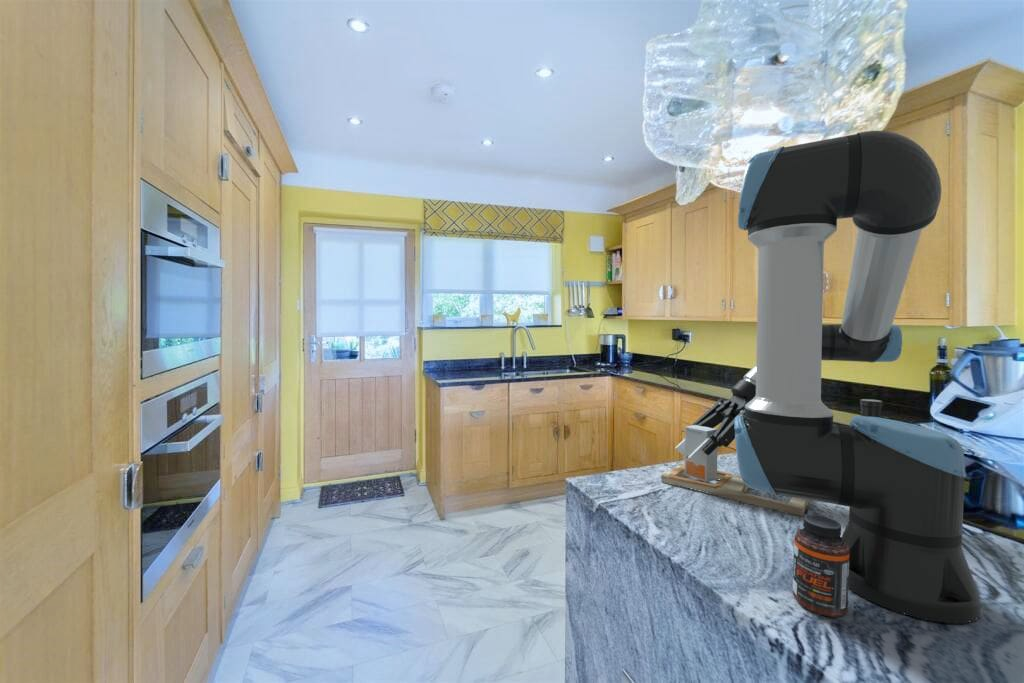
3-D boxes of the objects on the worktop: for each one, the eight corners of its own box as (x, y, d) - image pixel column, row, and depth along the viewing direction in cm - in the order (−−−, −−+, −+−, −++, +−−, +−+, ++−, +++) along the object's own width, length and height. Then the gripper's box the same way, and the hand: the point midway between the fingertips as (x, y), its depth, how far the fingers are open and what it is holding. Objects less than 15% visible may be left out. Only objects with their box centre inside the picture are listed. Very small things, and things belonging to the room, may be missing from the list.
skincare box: (684, 475, 102) (684, 426, 102) (695, 472, 104) (695, 424, 104) (706, 483, 97) (707, 431, 97) (718, 479, 99) (718, 428, 99)
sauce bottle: (884, 491, 96) (886, 403, 95) (849, 483, 100) (851, 400, 100) (889, 484, 100) (891, 400, 99) (855, 477, 105) (857, 397, 104)
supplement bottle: (788, 605, 56) (790, 520, 56) (796, 585, 60) (798, 506, 60) (845, 626, 52) (847, 535, 52) (850, 603, 56) (852, 519, 56)
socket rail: (801, 516, 82) (801, 507, 82) (661, 481, 101) (661, 474, 101) (810, 498, 91) (810, 490, 91) (680, 469, 110) (680, 462, 110)
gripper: (794, 408, 90) (716, 483, 91) (744, 393, 110) (680, 455, 111) (769, 383, 90) (691, 458, 91) (723, 373, 110) (660, 435, 111)
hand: (685, 456), depth 101 cm, fingers open, 7 cm apart
